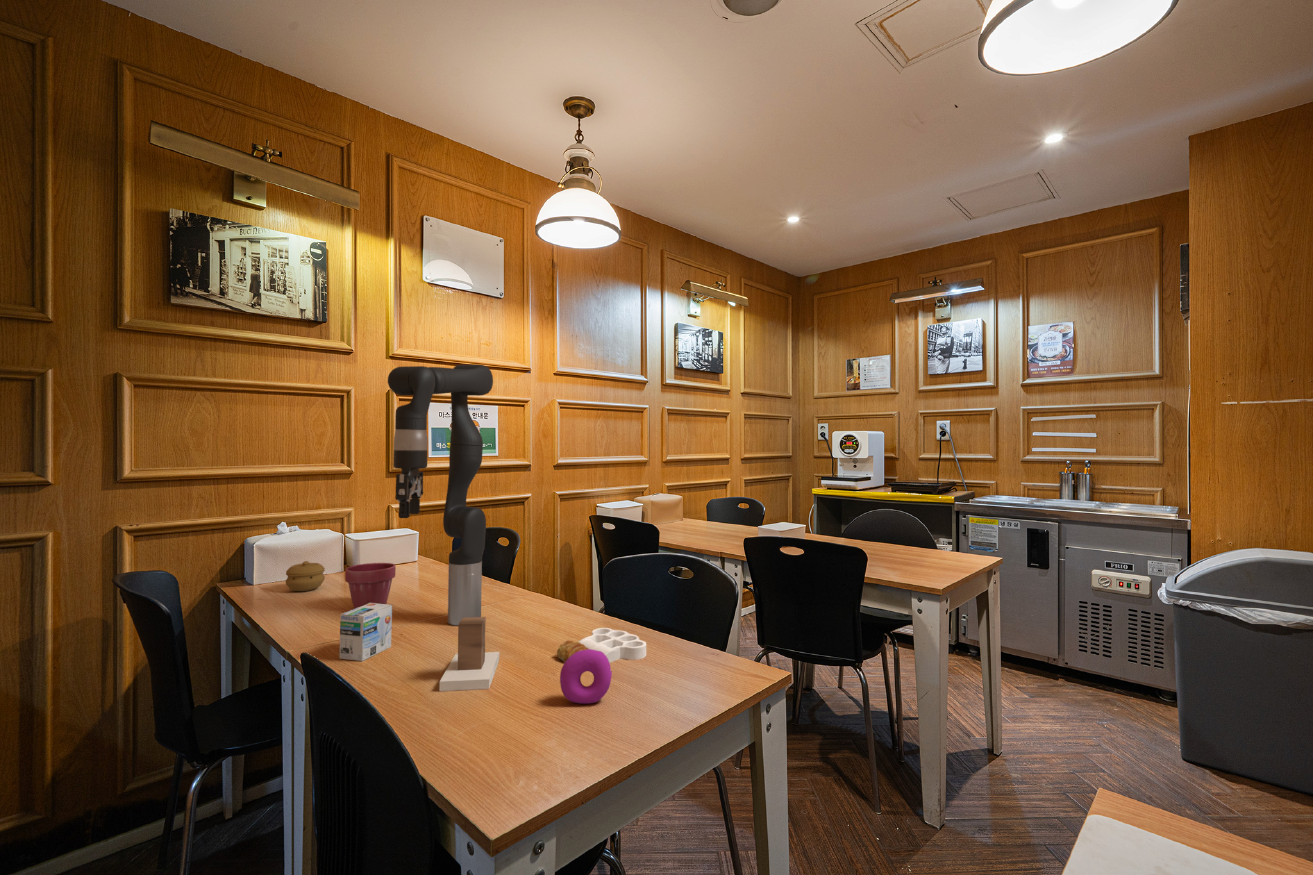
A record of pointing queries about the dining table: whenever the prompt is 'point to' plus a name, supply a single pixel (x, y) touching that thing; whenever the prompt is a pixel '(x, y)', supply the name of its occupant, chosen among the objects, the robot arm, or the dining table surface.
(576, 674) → the donut
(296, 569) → the pot
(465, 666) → the walnut block
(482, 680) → the plastic platform
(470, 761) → the dining table surface
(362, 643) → the light bulb box
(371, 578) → the plant pot
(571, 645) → the pastry
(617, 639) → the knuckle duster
